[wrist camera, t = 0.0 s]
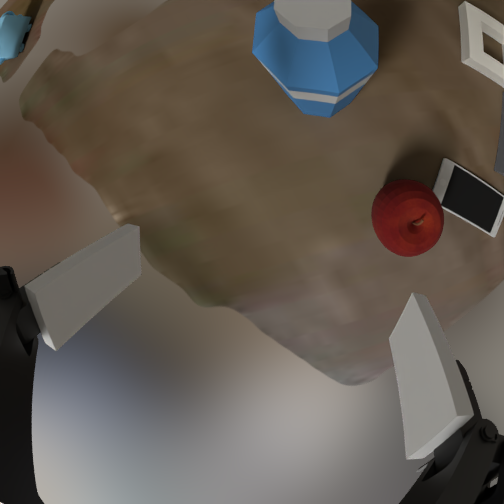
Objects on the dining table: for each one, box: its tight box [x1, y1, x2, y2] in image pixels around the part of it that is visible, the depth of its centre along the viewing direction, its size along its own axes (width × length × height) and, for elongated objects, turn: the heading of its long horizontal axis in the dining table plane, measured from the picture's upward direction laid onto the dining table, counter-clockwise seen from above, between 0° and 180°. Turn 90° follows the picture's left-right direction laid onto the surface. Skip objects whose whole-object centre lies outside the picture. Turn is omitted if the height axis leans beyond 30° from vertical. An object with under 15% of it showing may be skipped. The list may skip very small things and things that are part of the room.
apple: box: [371, 179, 444, 257], centre depth 30 cm, size 10×10×10 cm
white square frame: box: [458, 1, 504, 88], centre depth 17 cm, size 12×12×3 cm
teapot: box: [0, 11, 32, 65], centre depth 29 cm, size 22×11×14 cm, turn 161°
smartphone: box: [432, 158, 504, 237], centre depth 30 cm, size 7×16×1 cm, turn 76°
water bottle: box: [252, 0, 379, 118], centre depth 20 cm, size 9×9×25 cm
